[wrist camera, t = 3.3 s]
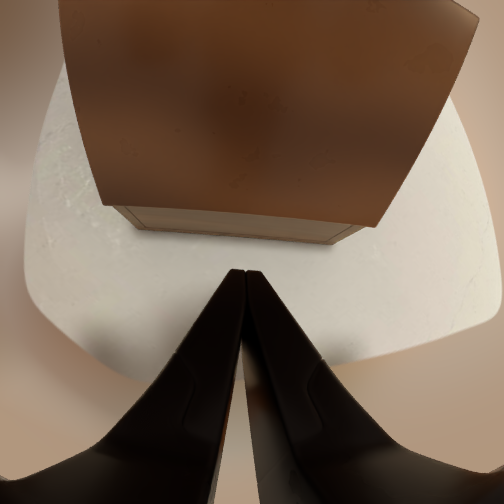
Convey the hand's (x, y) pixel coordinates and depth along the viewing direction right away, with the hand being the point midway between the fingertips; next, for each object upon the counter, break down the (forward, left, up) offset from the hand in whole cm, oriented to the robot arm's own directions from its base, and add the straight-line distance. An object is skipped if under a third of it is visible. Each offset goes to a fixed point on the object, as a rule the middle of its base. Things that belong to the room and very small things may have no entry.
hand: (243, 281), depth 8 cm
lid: (+3, +6, 0) cm, 7 cm away
